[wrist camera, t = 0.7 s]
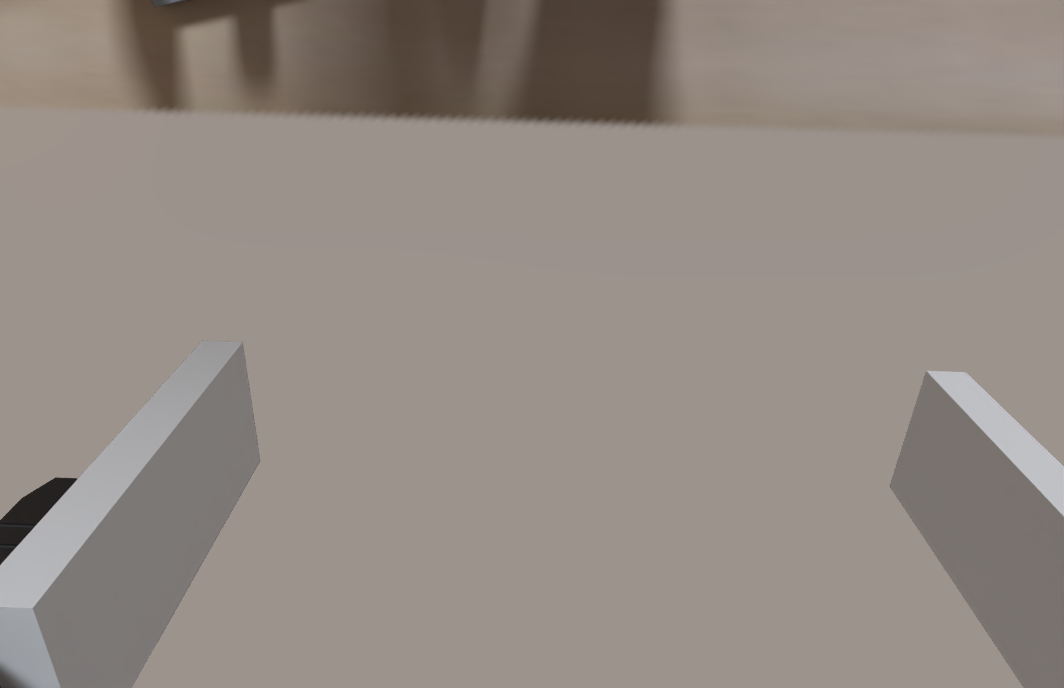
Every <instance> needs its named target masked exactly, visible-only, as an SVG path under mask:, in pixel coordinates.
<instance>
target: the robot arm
mask: <svg viewBox="0 0 1064 688" xmlns="http://www.w3.org/2000/svg"><path fill="white" fill-rule="evenodd" d="M259 462H260V456H259V449H258V443H257V435H256V430H255V422H254V415H253V408H252V402H251V395H250V388H249V382H248V375H247V368H246V362H245V356H244V348H243V342H227V341H202V342H201V343H200V344H199V345H198V346H197V347H196V348H195V349H194V351H193V352H192V353H191V354H190V355H189V356H188V357H187V358H186V359H185V361H184V362H183V363H182V364H181V365H180V366H179V367H178V368H177V369H176V371H175V372H174V373H173V374H172V375H171V376H170V377H169V378H168V379H167V381H166V382H165V383H164V384H163V385H162V386H161V387H160V388H159V389H158V390H157V392H156V393H155V394H154V395H153V396H152V397H151V398H150V399H149V400H148V402H147V403H146V404H145V405H144V406H143V407H142V408H141V409H140V410H139V412H138V413H137V414H136V415H135V416H134V417H133V418H132V420H130V422H129V423H128V424H127V425H126V426H125V427H124V428H123V429H122V430H121V432H120V433H119V434H118V435H117V436H116V437H115V438H114V439H113V440H112V442H111V443H110V444H109V445H108V446H107V447H106V448H105V449H104V450H103V452H102V453H101V454H100V455H99V456H98V457H97V459H95V460H94V462H93V463H92V464H91V465H90V466H89V467H88V468H87V469H86V470H85V472H84V473H83V474H82V475H81V476H80V477H79V478H78V479H76V478H54V479H53V480H51V481H49V482H48V483H46V484H44V485H43V486H41V487H39V488H38V489H36V490H34V491H33V492H31V493H30V494H28V495H26V496H25V497H23V498H22V499H21V500H20V501H19V502H18V503H17V504H16V505H15V506H14V507H13V508H12V509H11V510H10V511H9V512H8V513H7V514H6V515H5V516H4V517H3V518H2V519H1V520H0V688H132V686H133V685H134V683H135V681H136V679H137V678H138V676H139V674H140V672H141V671H142V669H143V667H144V665H145V663H146V662H147V660H148V658H149V656H150V655H151V653H152V651H153V649H154V648H155V646H156V644H157V642H158V641H159V639H160V637H161V635H162V633H163V632H164V630H165V628H166V626H167V625H168V623H169V621H170V619H171V618H172V616H173V614H174V612H175V610H176V609H177V607H178V605H179V603H180V602H181V600H182V598H183V596H184V595H185V593H186V591H187V589H188V587H189V586H190V584H191V582H192V580H193V579H194V577H195V575H196V573H197V572H198V570H199V568H200V566H201V565H202V563H203V561H204V559H205V557H206V556H207V554H208V552H209V550H210V549H211V547H212V545H213V543H214V541H215V540H216V538H217V536H218V535H219V533H220V531H221V529H222V527H223V526H224V524H225V522H226V520H227V519H228V517H229V515H230V513H231V511H232V510H233V508H234V506H235V504H236V503H237V501H238V499H239V497H240V496H241V494H242V492H243V490H244V488H245V487H246V485H247V483H248V481H249V480H250V478H251V476H252V474H253V473H254V471H255V469H256V467H257V466H258V464H259ZM890 488H891V489H892V491H893V492H894V494H895V495H896V497H897V498H898V500H899V501H900V503H901V504H902V506H903V507H904V509H905V510H906V512H907V513H908V515H909V516H910V518H911V519H912V521H913V522H914V524H915V525H916V527H917V528H918V530H919V531H920V533H921V534H922V535H923V537H924V539H925V540H926V542H927V543H928V545H929V546H930V548H931V549H932V551H933V552H934V554H935V555H936V557H937V558H938V560H939V561H940V563H941V564H942V566H943V567H944V569H945V570H946V572H947V573H948V575H949V576H950V578H951V579H952V581H953V582H954V584H955V585H956V587H957V588H958V590H959V591H960V593H961V594H962V596H963V597H964V599H965V600H966V602H967V603H968V605H969V606H970V608H971V609H972V611H973V612H974V614H975V615H976V617H977V618H978V620H979V621H980V623H981V624H982V626H983V627H984V629H985V630H986V632H987V633H988V635H989V636H990V638H991V639H992V641H993V642H994V644H995V645H996V647H997V648H998V650H999V651H1000V653H1001V654H1002V656H1003V657H1004V659H1005V660H1006V662H1007V663H1008V665H1009V666H1010V668H1011V669H1012V671H1013V672H1014V674H1015V675H1016V677H1017V678H1018V680H1019V681H1020V683H1021V685H1022V686H1023V687H1024V688H1064V467H1063V466H1062V465H1061V464H1060V463H1059V462H1058V461H1057V460H1056V459H1055V458H1054V457H1053V456H1052V455H1051V454H1050V453H1049V452H1048V451H1047V450H1046V449H1045V448H1044V447H1043V446H1042V445H1040V444H1039V443H1038V442H1037V441H1036V440H1035V439H1034V438H1033V437H1032V436H1031V435H1030V434H1029V433H1028V432H1027V431H1026V430H1025V429H1024V428H1023V427H1022V426H1021V425H1020V424H1018V422H1017V421H1016V420H1015V419H1014V418H1012V417H1011V416H1010V415H1009V414H1008V413H1007V412H1006V411H1005V410H1004V409H1003V408H1002V407H1001V406H1000V405H999V404H998V403H997V402H996V401H995V400H994V399H993V398H992V397H991V396H990V395H989V394H988V393H987V392H986V391H984V390H983V389H982V388H981V387H980V386H979V385H978V384H977V383H976V382H975V381H974V380H973V379H972V378H971V377H970V376H969V375H968V374H967V373H964V372H941V371H926V373H925V376H924V380H923V383H922V386H921V389H920V392H919V395H918V398H917V402H916V405H915V408H914V411H913V414H912V417H911V420H910V424H909V427H908V430H907V433H906V436H905V439H904V442H903V446H902V449H901V452H900V455H899V458H898V461H897V465H896V468H895V471H894V474H893V477H892V480H891V483H890Z"/></svg>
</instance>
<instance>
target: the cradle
mask: <svg viewBox="0 0 1064 688" xmlns="http://www.w3.org/2000/svg"><path fill="white" fill-rule="evenodd" d="M183 1H188V0H152V2H153V5H154V7H156V6H166V5H170V4H175V3H179V2H183Z"/></svg>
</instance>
